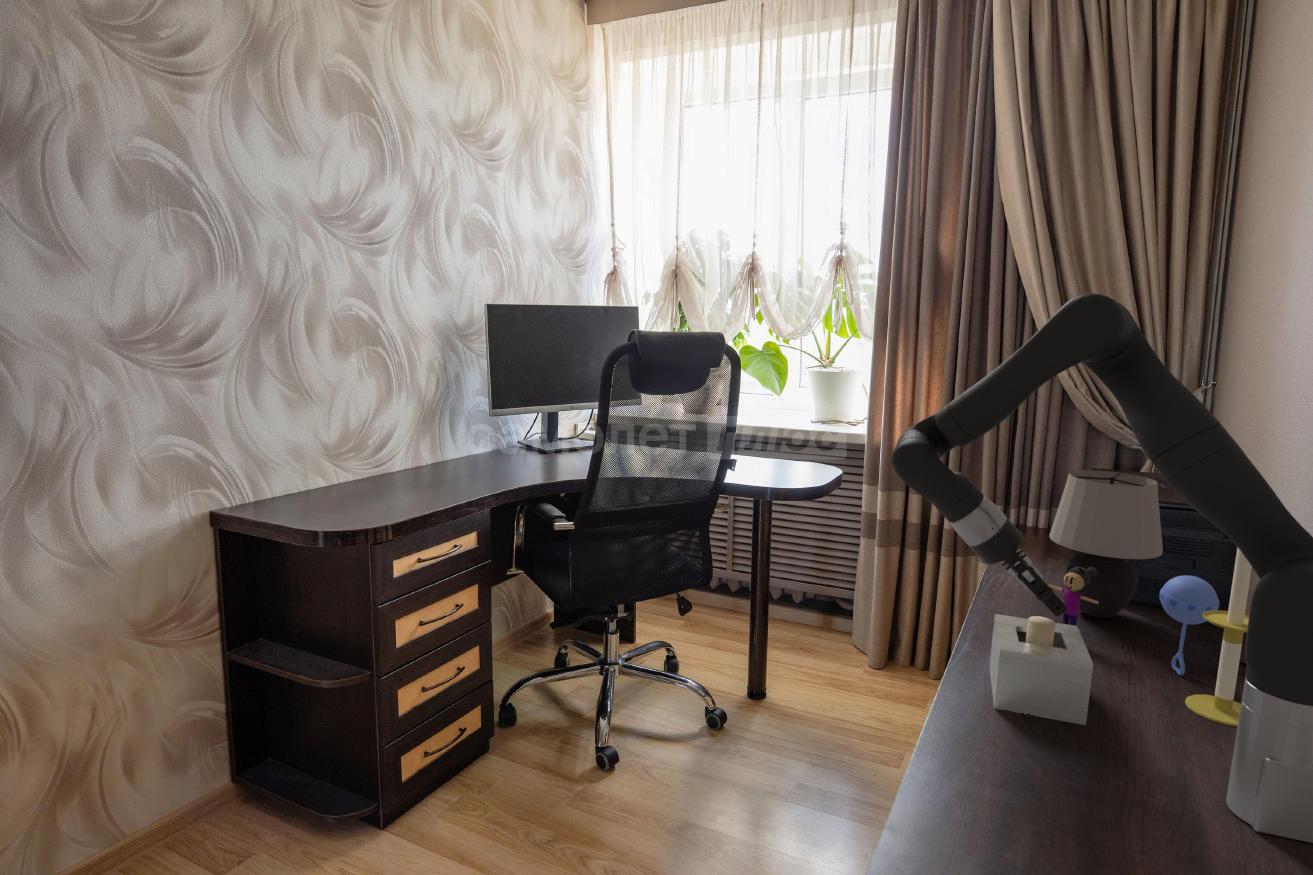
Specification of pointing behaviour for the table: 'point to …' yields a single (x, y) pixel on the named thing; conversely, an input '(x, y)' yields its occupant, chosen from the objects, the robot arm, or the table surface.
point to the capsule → (1040, 631)
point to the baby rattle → (1187, 606)
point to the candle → (1227, 651)
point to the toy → (1072, 599)
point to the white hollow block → (1040, 672)
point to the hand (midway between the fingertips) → (1055, 605)
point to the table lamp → (1108, 533)
